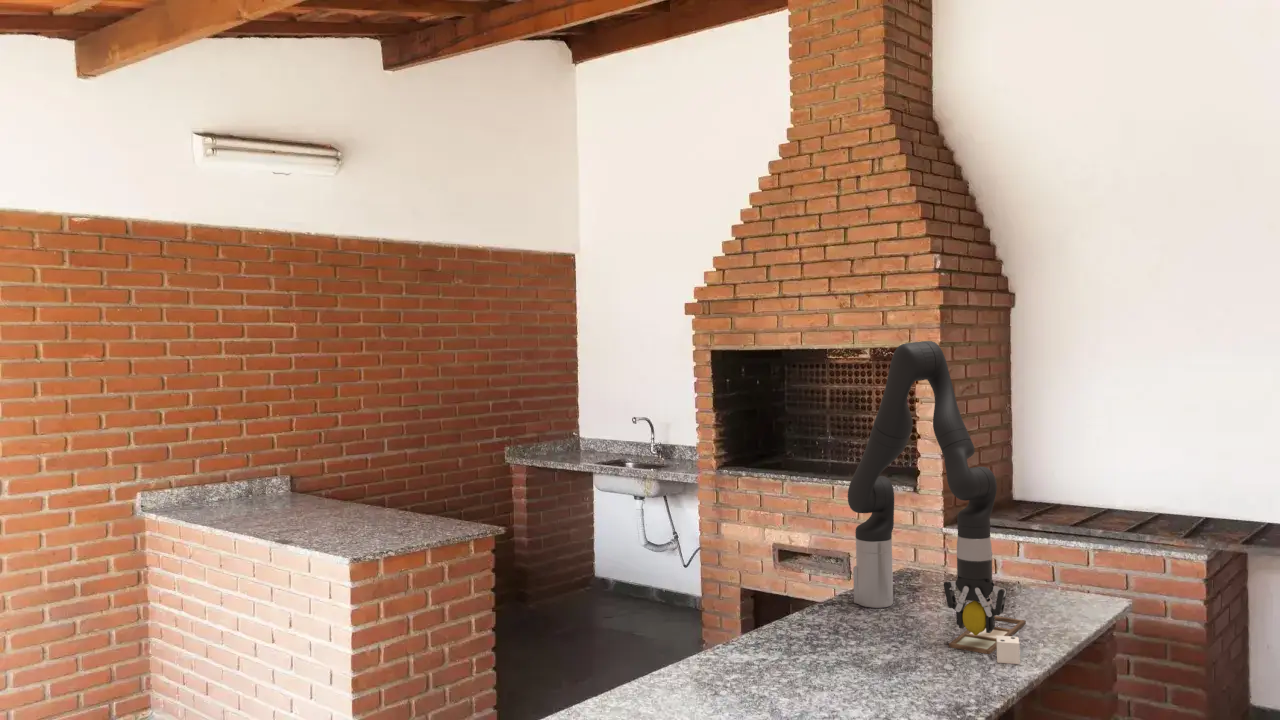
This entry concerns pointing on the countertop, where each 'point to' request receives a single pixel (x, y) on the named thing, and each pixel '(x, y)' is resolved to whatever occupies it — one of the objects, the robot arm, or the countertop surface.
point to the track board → (985, 637)
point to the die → (1008, 649)
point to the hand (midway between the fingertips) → (975, 629)
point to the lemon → (974, 617)
